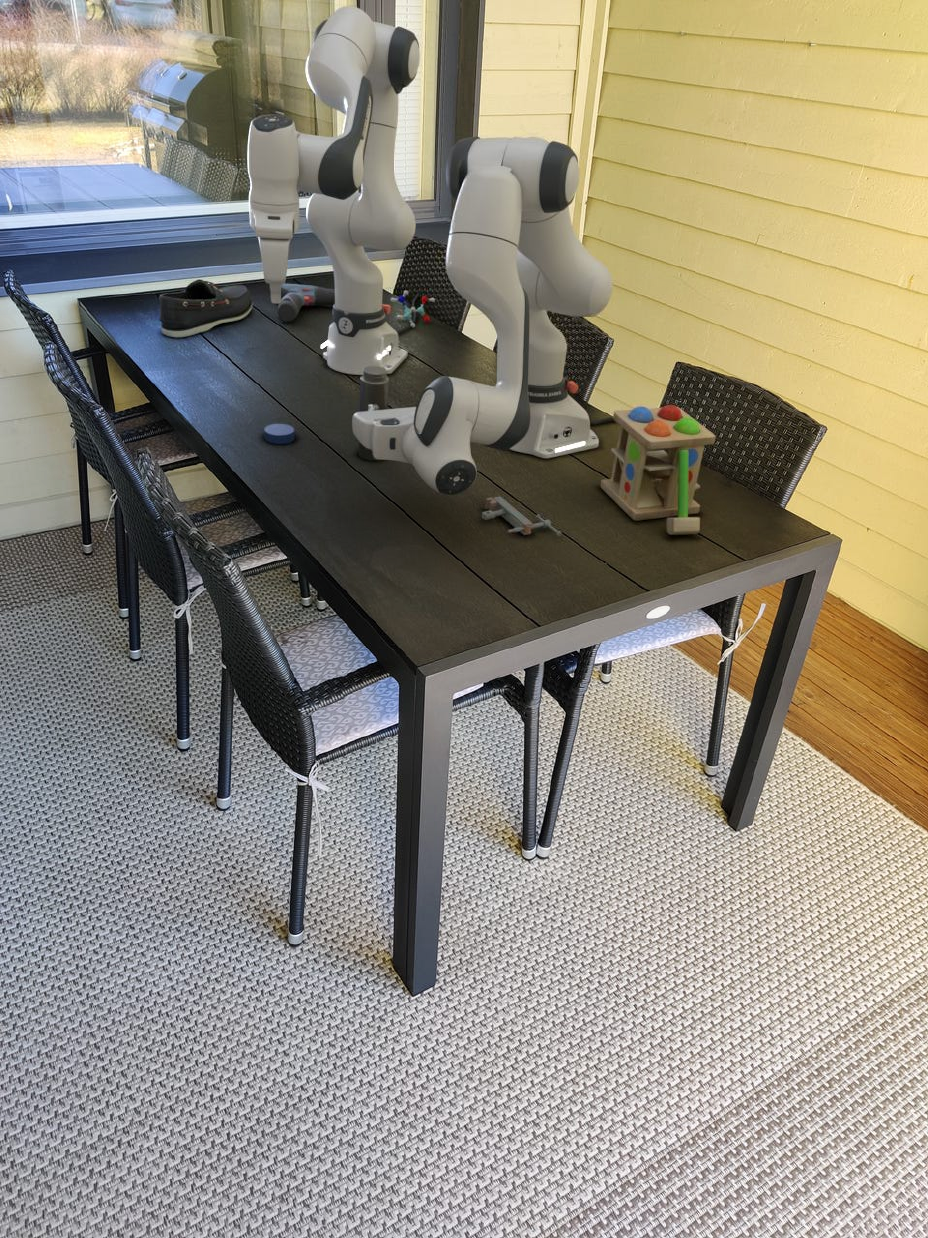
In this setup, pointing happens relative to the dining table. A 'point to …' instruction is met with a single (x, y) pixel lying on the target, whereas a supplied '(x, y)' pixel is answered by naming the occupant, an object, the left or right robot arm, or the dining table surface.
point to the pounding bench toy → (658, 466)
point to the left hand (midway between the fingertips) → (276, 294)
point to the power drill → (302, 299)
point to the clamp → (513, 516)
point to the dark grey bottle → (373, 397)
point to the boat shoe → (202, 307)
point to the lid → (279, 433)
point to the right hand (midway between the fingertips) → (396, 405)
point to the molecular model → (412, 309)
